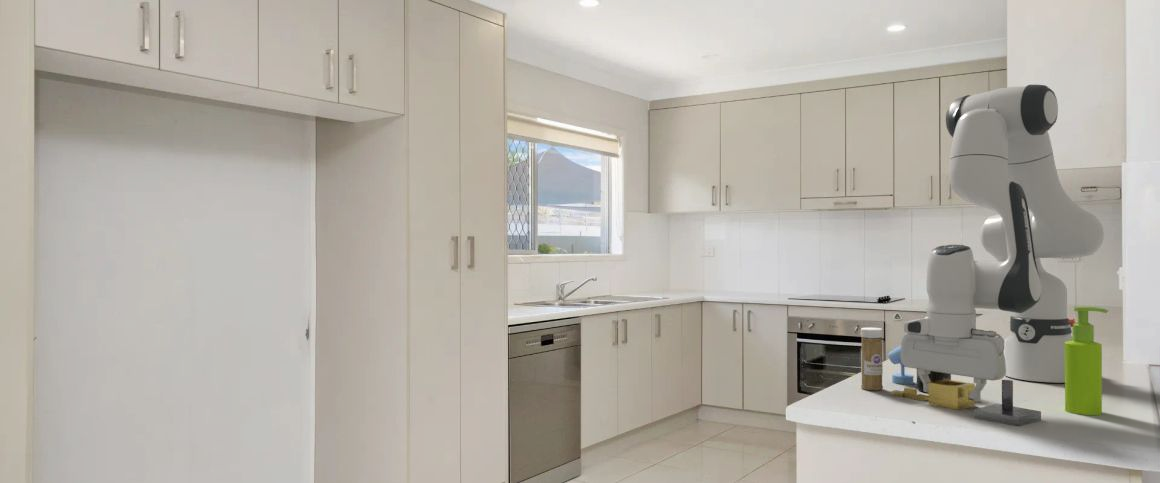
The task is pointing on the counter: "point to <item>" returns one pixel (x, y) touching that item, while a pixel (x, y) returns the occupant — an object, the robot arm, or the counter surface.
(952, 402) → the end link
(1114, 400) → the counter surface
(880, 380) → the sprinkles bottle
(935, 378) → the supplement bottle
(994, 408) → the grey peg stand
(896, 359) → the spotlight
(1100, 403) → the soap dispenser
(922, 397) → the tan barbell toy
